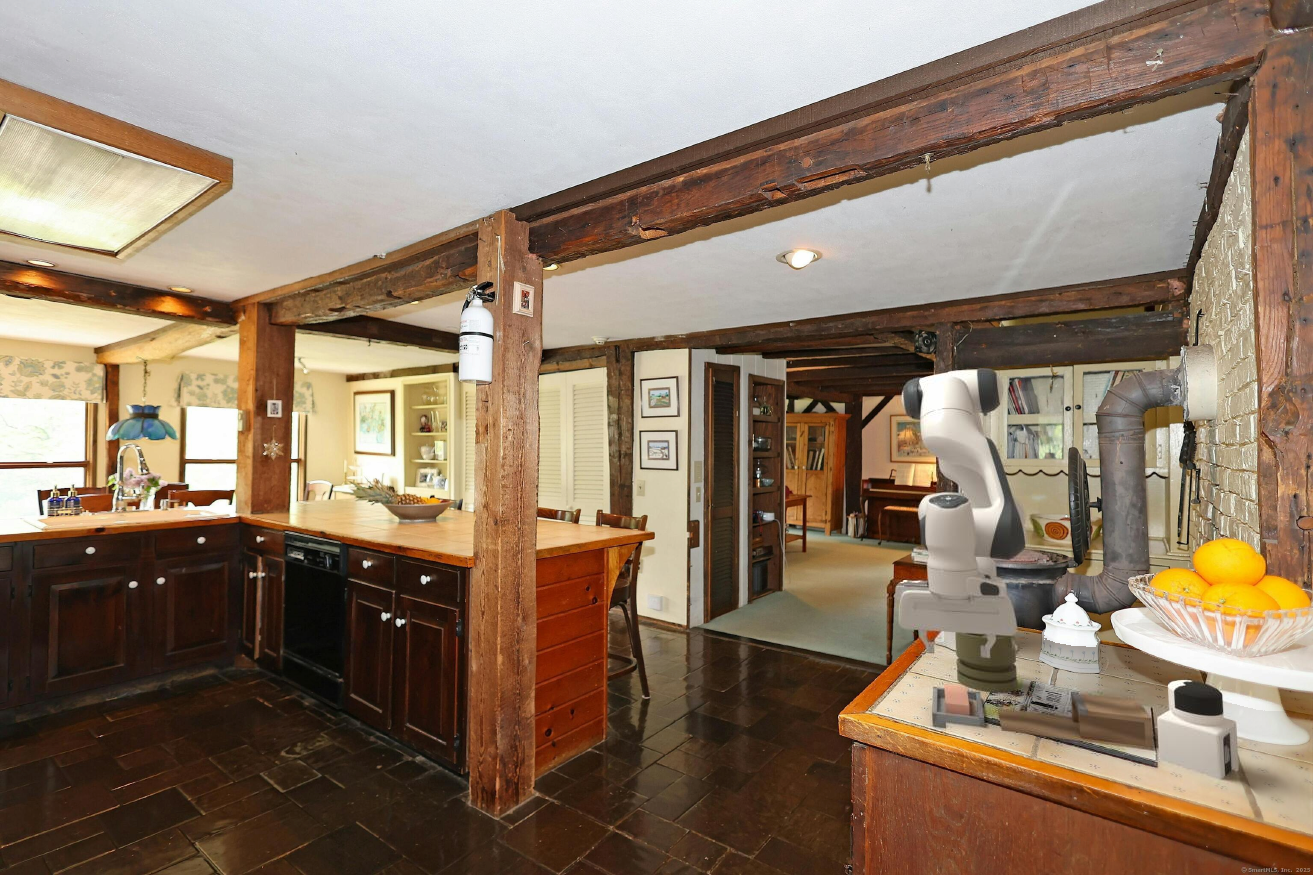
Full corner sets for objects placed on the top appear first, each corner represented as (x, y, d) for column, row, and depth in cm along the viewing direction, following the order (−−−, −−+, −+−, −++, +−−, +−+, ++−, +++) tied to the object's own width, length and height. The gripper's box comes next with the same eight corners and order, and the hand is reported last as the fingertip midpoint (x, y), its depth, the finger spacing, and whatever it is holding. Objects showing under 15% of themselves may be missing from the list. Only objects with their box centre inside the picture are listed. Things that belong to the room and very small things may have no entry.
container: (1239, 770, 98) (1235, 686, 98) (1221, 786, 94) (1216, 698, 94) (1178, 751, 104) (1174, 672, 104) (1158, 765, 100) (1154, 682, 100)
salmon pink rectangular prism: (946, 720, 117) (945, 702, 117) (944, 699, 127) (944, 683, 127) (970, 723, 116) (969, 705, 116) (967, 702, 125) (966, 686, 125)
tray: (933, 698, 129) (933, 686, 129) (980, 703, 125) (980, 691, 126) (932, 725, 117) (932, 712, 117) (984, 732, 113) (984, 719, 113)
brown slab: (997, 713, 121) (996, 681, 121) (1137, 730, 112) (1136, 696, 112) (1002, 735, 112) (1000, 701, 112) (1155, 756, 103) (1153, 719, 103)
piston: (946, 631, 134) (966, 620, 142) (949, 688, 134) (969, 673, 142) (1004, 641, 126) (1022, 629, 134) (1007, 701, 126) (1024, 685, 134)
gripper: (893, 583, 121) (897, 655, 121) (1015, 587, 112) (1020, 665, 112) (895, 575, 126) (899, 644, 126) (1011, 579, 118) (1016, 653, 118)
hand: (957, 654), depth 119 cm, fingers open, 8 cm apart
